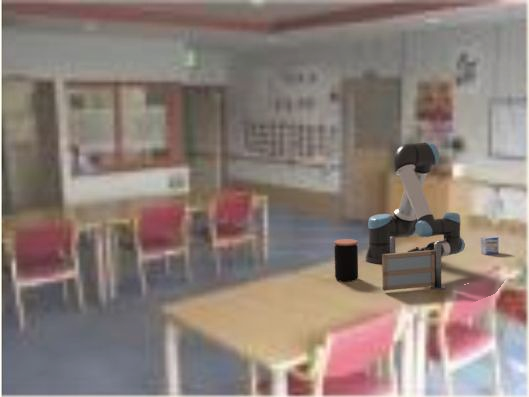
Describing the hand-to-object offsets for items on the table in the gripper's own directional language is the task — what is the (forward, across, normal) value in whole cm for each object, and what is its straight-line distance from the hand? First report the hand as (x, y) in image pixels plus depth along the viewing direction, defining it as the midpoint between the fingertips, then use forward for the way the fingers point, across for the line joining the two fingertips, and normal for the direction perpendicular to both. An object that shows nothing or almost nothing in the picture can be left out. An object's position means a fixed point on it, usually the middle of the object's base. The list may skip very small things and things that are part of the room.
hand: (401, 257), depth 308 cm
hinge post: (-9, -13, -13) cm, 20 cm away
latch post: (-9, +14, -13) cm, 21 cm away
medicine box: (-80, +13, -14) cm, 82 cm away
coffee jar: (+9, +26, -14) cm, 31 cm away
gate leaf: (+3, -7, -11) cm, 14 cm away
